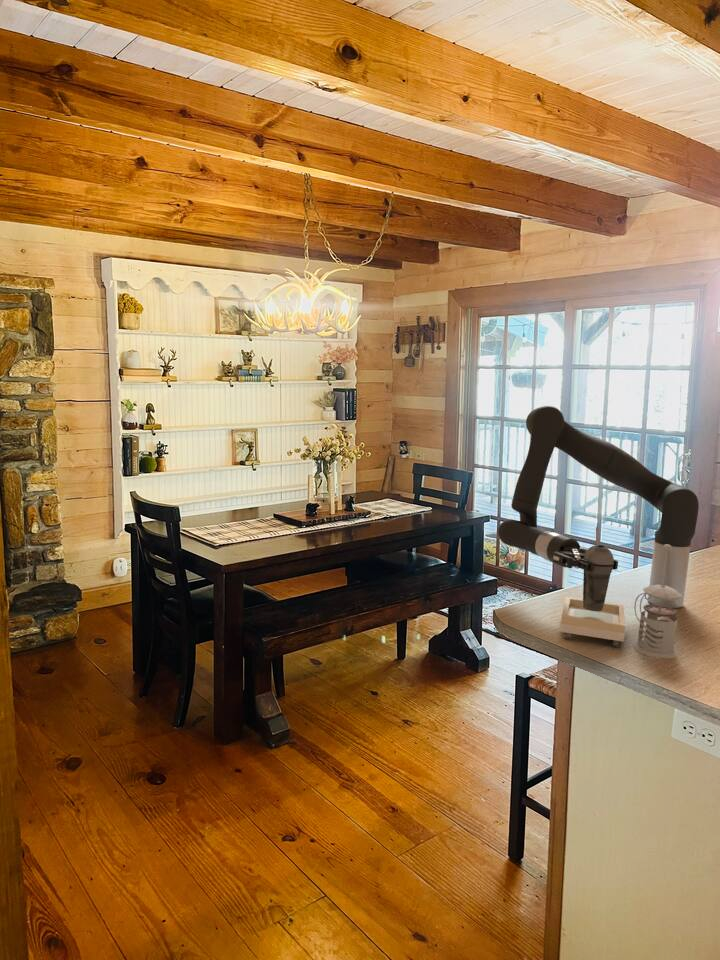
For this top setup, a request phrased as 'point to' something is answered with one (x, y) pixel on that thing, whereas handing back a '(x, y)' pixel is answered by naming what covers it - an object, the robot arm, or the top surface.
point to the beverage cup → (597, 576)
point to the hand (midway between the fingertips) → (604, 566)
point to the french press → (658, 622)
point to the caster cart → (593, 621)
